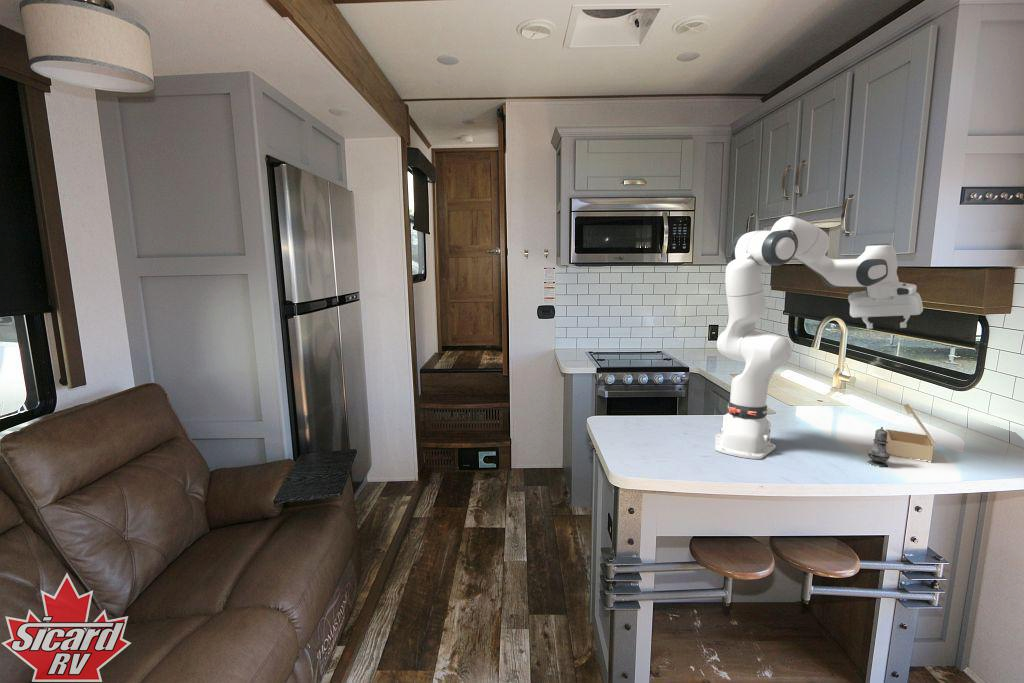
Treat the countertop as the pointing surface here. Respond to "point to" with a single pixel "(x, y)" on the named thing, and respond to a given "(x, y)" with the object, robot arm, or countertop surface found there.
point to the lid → (909, 410)
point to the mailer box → (909, 445)
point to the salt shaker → (879, 449)
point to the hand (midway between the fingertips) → (886, 328)
